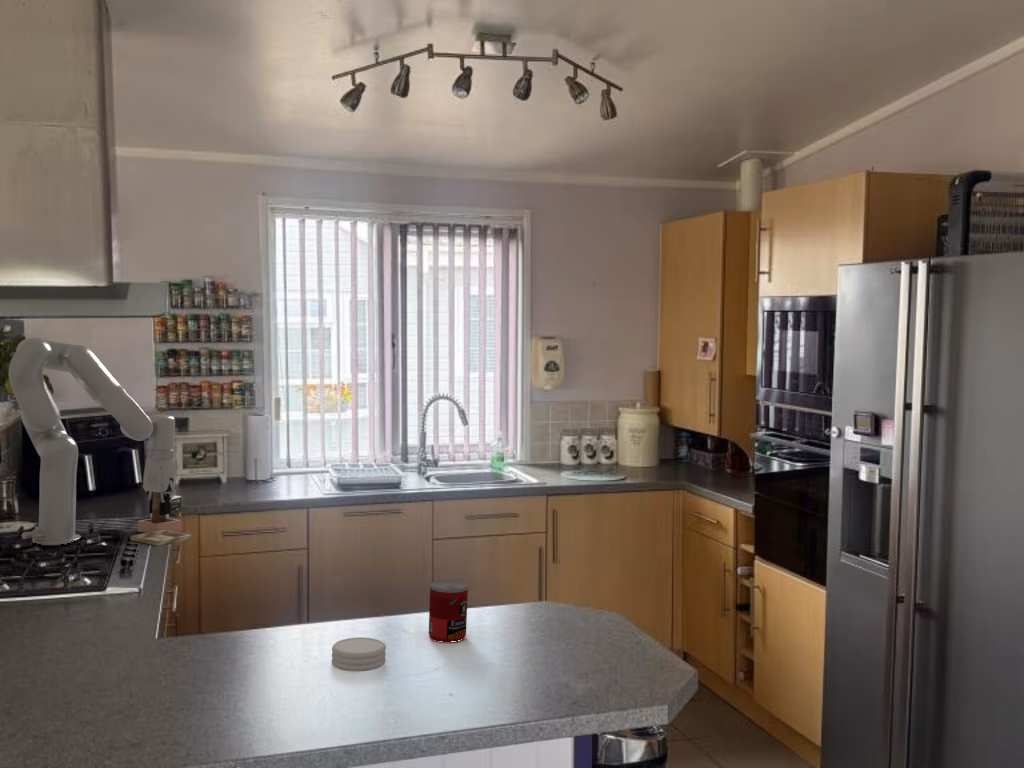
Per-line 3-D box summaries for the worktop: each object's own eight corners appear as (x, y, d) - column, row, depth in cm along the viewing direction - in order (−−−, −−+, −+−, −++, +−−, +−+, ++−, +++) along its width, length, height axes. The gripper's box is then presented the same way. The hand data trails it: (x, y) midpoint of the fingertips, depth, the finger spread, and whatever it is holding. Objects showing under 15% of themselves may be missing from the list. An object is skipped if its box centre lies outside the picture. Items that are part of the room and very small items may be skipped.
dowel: (157, 531, 271) (158, 486, 271) (148, 530, 273) (150, 485, 273) (168, 530, 274) (169, 485, 274) (159, 528, 277) (161, 483, 276)
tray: (157, 548, 253) (157, 541, 253) (130, 542, 259) (130, 535, 259) (191, 541, 264) (191, 534, 264) (164, 536, 270) (164, 529, 270)
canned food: (452, 646, 176) (453, 591, 176) (420, 638, 180) (422, 585, 180) (473, 636, 183) (475, 583, 182) (442, 629, 187) (444, 577, 187)
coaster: (327, 672, 160) (328, 653, 160) (335, 654, 170) (336, 635, 170) (382, 673, 160) (383, 654, 160) (387, 654, 170) (388, 636, 170)
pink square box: (156, 537, 268) (157, 524, 268) (137, 533, 272) (137, 520, 272) (181, 532, 276) (181, 520, 275) (162, 529, 280) (162, 516, 280)
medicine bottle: (169, 520, 295) (169, 484, 295) (150, 518, 297) (150, 483, 296) (181, 516, 302) (182, 481, 302) (162, 515, 304) (163, 480, 303)
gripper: (133, 453, 274) (131, 512, 275) (168, 458, 266) (166, 518, 266) (153, 451, 281) (151, 509, 281) (189, 456, 272) (187, 515, 273)
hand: (159, 513), depth 274 cm, fingers closed on dowel, 4 cm apart
